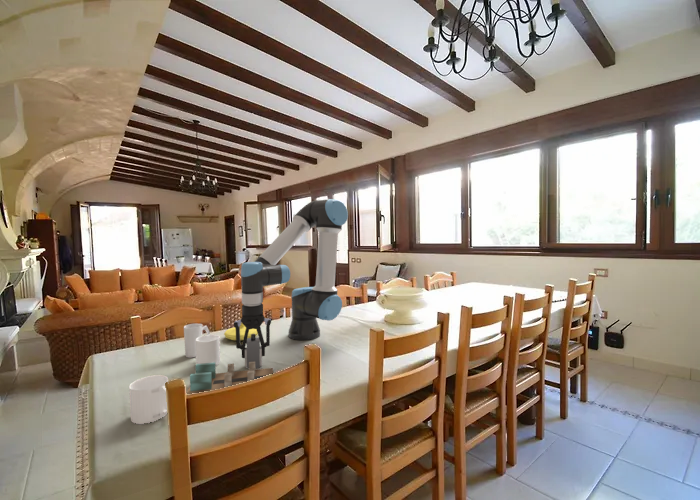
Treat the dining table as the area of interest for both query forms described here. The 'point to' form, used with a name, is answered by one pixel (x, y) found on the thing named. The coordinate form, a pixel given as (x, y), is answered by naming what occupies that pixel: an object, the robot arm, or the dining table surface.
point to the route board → (222, 377)
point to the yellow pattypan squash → (232, 333)
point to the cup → (208, 349)
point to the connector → (253, 351)
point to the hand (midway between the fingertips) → (253, 365)
